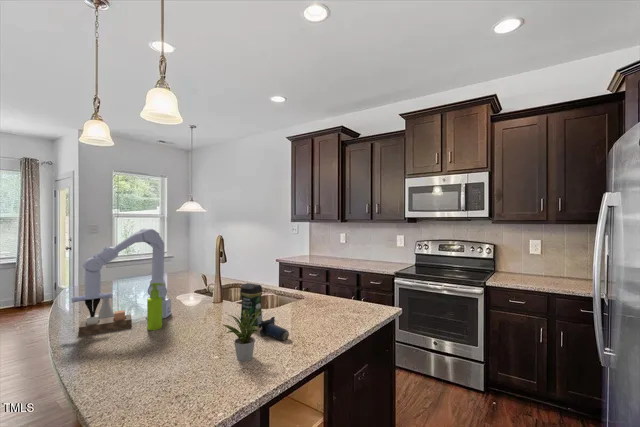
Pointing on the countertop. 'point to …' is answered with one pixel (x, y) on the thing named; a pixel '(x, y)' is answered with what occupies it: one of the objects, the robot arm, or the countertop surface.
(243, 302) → the coffee jar
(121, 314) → the salmon pink cube
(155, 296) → the soap dispenser
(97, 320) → the white cube
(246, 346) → the house plant
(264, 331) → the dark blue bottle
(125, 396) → the countertop surface
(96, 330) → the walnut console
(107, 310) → the flask
